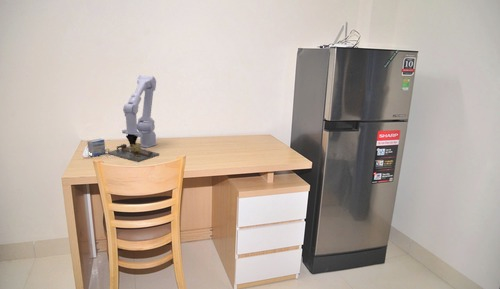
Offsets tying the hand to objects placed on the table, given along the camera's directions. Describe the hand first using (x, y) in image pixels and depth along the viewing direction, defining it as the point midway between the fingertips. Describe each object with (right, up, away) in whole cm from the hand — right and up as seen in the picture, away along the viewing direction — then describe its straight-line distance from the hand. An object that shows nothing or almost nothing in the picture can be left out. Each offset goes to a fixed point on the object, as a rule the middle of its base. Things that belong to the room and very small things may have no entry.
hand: (132, 146), depth 192 cm
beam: (+1, -4, -2) cm, 4 cm away
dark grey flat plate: (+1, -4, -1) cm, 5 cm away
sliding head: (+2, -3, -2) cm, 4 cm away
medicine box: (-19, -5, -4) cm, 20 cm away
